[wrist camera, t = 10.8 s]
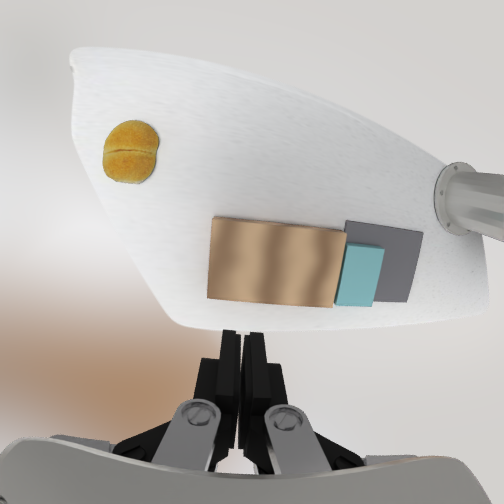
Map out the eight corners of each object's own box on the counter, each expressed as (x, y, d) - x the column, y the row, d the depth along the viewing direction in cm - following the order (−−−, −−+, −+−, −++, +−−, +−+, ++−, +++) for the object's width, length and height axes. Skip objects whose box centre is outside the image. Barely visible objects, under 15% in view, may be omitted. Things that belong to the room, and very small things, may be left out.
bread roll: (163, 123, 36) (155, 117, 32) (154, 185, 38) (145, 186, 34) (112, 121, 35) (100, 117, 31) (103, 180, 37) (91, 181, 33)
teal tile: (378, 246, 40) (384, 249, 38) (366, 301, 42) (371, 306, 41) (343, 242, 40) (347, 245, 38) (332, 299, 42) (335, 305, 40)
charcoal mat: (421, 232, 40) (423, 232, 40) (405, 301, 43) (406, 302, 43) (345, 220, 40) (347, 220, 39) (331, 297, 43) (332, 299, 42)
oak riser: (341, 230, 40) (346, 233, 38) (327, 300, 43) (332, 307, 40) (214, 216, 39) (212, 219, 37) (208, 291, 42) (207, 298, 39)
